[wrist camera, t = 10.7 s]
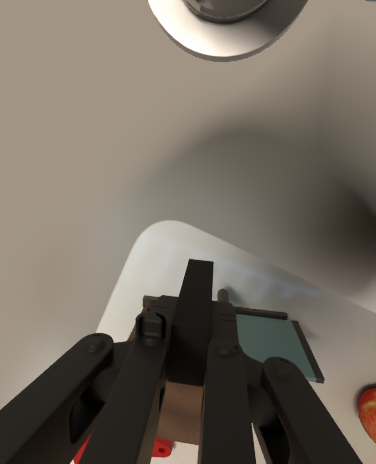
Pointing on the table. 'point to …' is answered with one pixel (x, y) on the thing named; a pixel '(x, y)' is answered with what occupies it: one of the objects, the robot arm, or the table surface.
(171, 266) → the table surface
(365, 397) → the apple
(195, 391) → the cabinet
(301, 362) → the glass door
